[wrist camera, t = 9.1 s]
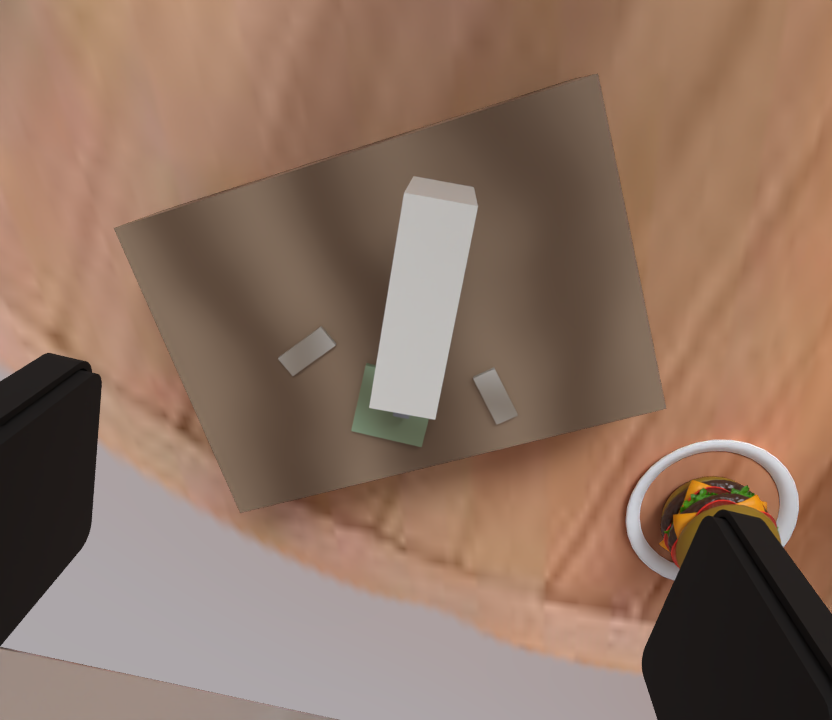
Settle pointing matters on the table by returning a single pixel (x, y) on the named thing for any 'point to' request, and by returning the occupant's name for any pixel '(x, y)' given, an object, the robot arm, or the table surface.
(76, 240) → the table surface
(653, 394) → the brown slab
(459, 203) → the peg
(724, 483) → the hamburger
